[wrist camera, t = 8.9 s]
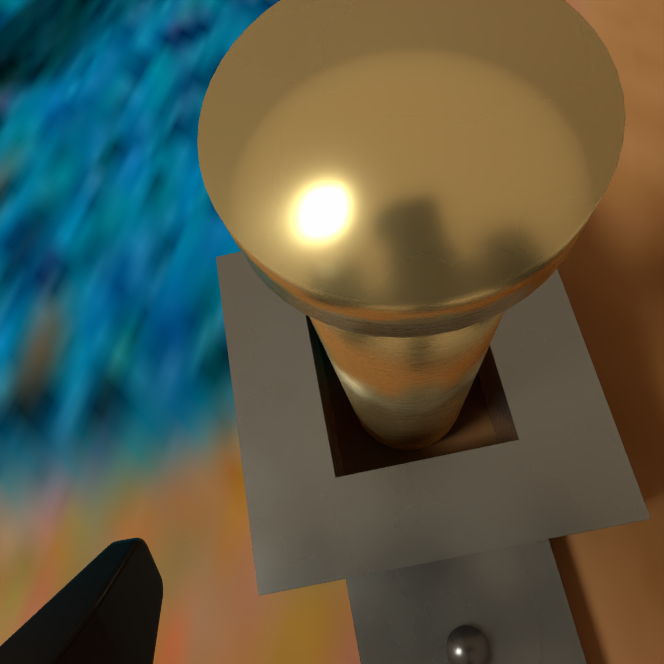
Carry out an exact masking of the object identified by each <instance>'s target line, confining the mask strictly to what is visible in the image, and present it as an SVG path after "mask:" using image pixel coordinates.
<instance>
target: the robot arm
mask: <svg viewBox="0 0 664 664" xmlns="http://www.w3.org/2000/svg"><path fill="white" fill-rule="evenodd" d="M162 598H163V583H162V579H161V576H160V573H159V571H158V569H157V567H156V564H155V562H154V560H153V557H152V555H151V553H150V551H149V548H148V546H147V544H146V543H145V541H144V540H143V539H141V538H132V539H126V540H120V541H116V542H113V543H111V544H110V545H109V546H108V547H107V548H106V549H105V550H103V551H102V552H101V553H100V554H99V555H98V556H97V557H96V558H95V559H94V560H93V561H92V562H91V563H89V564H88V565H87V566H86V567H85V568H84V569H83V570H82V571H81V572H80V573H79V574H78V575H77V576H75V577H74V578H73V579H72V580H71V581H70V582H69V583H68V584H67V585H66V586H65V587H64V588H63V589H61V590H60V591H59V592H58V593H57V594H56V595H55V596H54V597H53V598H52V599H51V600H50V601H49V602H47V603H46V604H45V605H44V606H43V607H42V608H41V609H40V610H39V611H38V612H37V613H36V614H35V615H33V616H32V617H31V618H30V619H29V620H28V621H27V622H26V623H25V624H24V625H23V626H22V627H21V628H19V629H18V630H17V631H16V632H15V633H14V634H13V635H12V636H11V637H10V638H9V639H8V640H7V641H5V642H4V643H3V644H2V645H1V646H0V664H153V660H154V653H155V646H156V639H157V632H158V625H159V619H160V612H161V605H162Z"/></svg>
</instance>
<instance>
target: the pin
mask: <svg viewBox="0 0 664 664" xmlns="http://www.w3.org/2000/svg"><path fill="white" fill-rule="evenodd" d="M624 127H625V108H624V97H623V91H622V87H621V83H620V80H619V76H618V72H617V69H616V67H615V65H614V63H613V61H612V58H611V56H610V54H609V52H608V50H607V48H606V47H605V45H604V43H603V42H602V40H601V39H600V37H599V36H598V34H597V33H596V31H595V30H594V29H593V28H592V27H591V25H590V24H589V23H588V22H587V21H586V20H585V19H584V18H583V17H582V15H581V14H580V13H579V12H578V11H576V10H575V9H574V8H573V7H572V6H570V5H569V4H568V3H567V2H566V1H565V0H280V1H279V2H277V3H276V4H275V5H273V6H272V7H270V8H269V9H268V10H266V11H265V12H264V13H263V14H262V15H261V16H260V17H258V18H257V19H256V20H255V21H254V22H253V23H252V24H251V25H249V26H248V28H247V29H246V30H245V31H244V32H243V33H242V34H241V35H240V37H239V38H238V39H237V40H236V41H235V42H234V43H233V45H232V46H231V48H230V49H229V51H228V52H227V53H226V55H225V56H224V58H223V59H222V60H221V62H220V64H219V66H218V68H217V70H216V72H215V74H214V75H213V77H212V79H211V81H210V84H209V87H208V90H207V92H206V95H205V98H204V100H203V105H202V109H201V114H200V119H199V127H198V154H199V165H200V169H201V173H202V177H203V181H204V185H205V188H206V190H207V192H208V194H209V197H210V199H211V201H212V204H213V206H214V208H215V210H216V211H217V213H218V215H219V216H220V218H221V219H222V221H223V223H224V224H225V226H226V228H227V229H228V231H229V232H230V234H231V236H232V237H233V239H234V241H235V242H236V244H237V246H238V247H239V249H240V250H241V252H242V254H243V255H244V257H245V258H246V260H247V261H248V263H249V265H250V266H251V268H252V269H253V271H254V272H255V273H256V274H257V275H258V276H259V278H260V279H261V280H262V281H263V282H264V283H265V285H266V286H267V287H268V288H269V289H271V290H272V291H273V292H274V293H275V294H276V295H278V296H279V297H280V298H281V299H282V300H283V301H285V302H286V303H288V304H289V305H291V306H292V307H294V308H296V309H297V310H299V311H300V312H302V313H303V314H305V315H307V316H309V317H310V319H311V321H312V323H313V325H314V327H315V330H316V332H317V334H318V336H319V338H320V340H321V342H322V344H323V346H324V348H325V351H326V353H327V355H328V357H329V359H330V361H331V363H332V365H333V367H334V369H335V371H336V374H337V376H338V378H339V380H340V382H341V384H342V386H343V388H344V390H345V392H346V395H347V397H348V399H349V401H350V403H351V405H352V407H353V409H354V411H355V413H356V415H357V418H358V420H359V422H360V423H361V425H362V426H363V428H364V429H365V430H366V431H367V433H368V434H370V435H371V436H372V437H373V438H374V439H376V440H377V441H378V442H380V443H382V444H384V445H386V446H389V447H392V448H396V449H402V450H415V449H420V448H424V447H427V446H429V445H432V444H434V443H436V442H437V441H439V440H440V439H441V438H443V437H444V436H445V435H446V434H447V433H448V432H449V431H450V429H451V428H452V427H453V425H454V423H455V422H456V419H457V417H458V415H459V413H460V411H461V408H462V406H463V404H464V402H465V399H466V397H467V395H468V393H469V390H470V388H471V386H472V384H473V381H474V379H475V377H476V375H477V372H478V370H479V368H480V366H481V363H482V361H483V359H484V357H485V354H486V352H487V350H488V347H489V345H490V343H491V341H492V338H493V336H494V334H495V332H496V329H497V327H498V325H499V323H500V320H501V318H502V316H503V314H504V311H506V310H508V309H509V308H511V307H512V306H514V305H516V304H517V303H519V302H520V301H522V300H523V299H525V298H526V297H528V296H529V295H530V294H531V293H532V292H534V291H535V290H536V289H537V288H538V287H539V286H541V285H542V284H543V283H544V282H545V281H546V280H547V279H548V278H549V277H550V276H551V275H552V274H553V273H554V271H555V270H556V269H557V268H558V267H559V266H560V265H561V263H562V262H563V261H564V259H565V258H566V256H567V255H568V253H569V252H570V250H571V249H572V247H573V246H574V244H575V242H576V241H577V239H578V237H579V236H580V234H581V232H582V231H583V229H584V227H585V225H586V224H587V222H588V220H589V219H590V217H591V215H592V213H593V212H594V210H595V208H596V207H597V205H598V203H599V202H600V200H601V198H602V196H603V195H604V193H605V191H606V189H607V187H608V185H609V183H610V180H611V178H612V176H613V174H614V171H615V169H616V167H617V164H618V160H619V156H620V152H621V148H622V144H623V139H624Z"/></svg>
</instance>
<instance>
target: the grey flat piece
mask: <svg viewBox="0 0 664 664" xmlns="http://www.w3.org/2000/svg"><path fill="white" fill-rule="evenodd" d="M216 260H217V268H218V276H219V284H220V292H221V300H222V308H223V316H224V324H225V332H226V340H227V348H228V355H229V363H230V371H231V379H232V387H233V395H234V403H235V411H236V419H237V427H238V435H239V443H240V451H241V459H242V467H243V475H244V482H245V490H246V498H247V506H248V514H249V522H250V530H251V538H252V546H253V554H254V562H255V570H256V578H257V586H258V594H259V595H265V594H270V593H275V592H280V591H285V590H290V589H295V588H300V587H305V586H311V585H316V584H321V583H326V582H331V581H336V580H341V579H346V583H347V588H348V594H349V600H350V605H351V611H352V616H353V622H354V628H355V633H356V639H357V644H358V650H359V656H360V661H361V664H587V663H586V659H585V656H584V653H583V650H582V646H581V643H580V640H579V637H578V633H577V630H576V627H575V623H574V620H573V617H572V614H571V610H570V607H569V604H568V601H567V597H566V594H565V591H564V588H563V584H562V581H561V578H560V575H559V571H558V568H557V565H556V562H555V558H554V555H553V552H552V549H551V545H550V542H549V539H551V538H556V537H561V536H566V535H571V534H576V533H581V532H587V531H592V530H597V529H602V528H607V527H612V526H617V525H622V524H627V523H632V522H638V521H643V520H648V519H651V518H650V515H649V513H648V510H647V507H646V505H645V502H644V499H643V497H642V494H641V491H640V489H639V486H638V483H637V481H636V478H635V475H634V473H633V470H632V467H631V465H630V462H629V459H628V457H627V454H626V451H625V449H624V446H623V443H622V440H621V438H620V435H619V432H618V430H617V427H616V424H615V422H614V419H613V416H612V414H611V411H610V408H609V406H608V403H607V400H606V398H605V395H604V392H603V390H602V387H601V384H600V382H599V379H598V376H597V374H596V371H595V368H594V366H593V363H592V360H591V358H590V355H589V352H588V349H587V347H586V344H585V341H584V339H583V336H582V333H581V331H580V328H579V325H578V323H577V320H576V317H575V315H574V312H573V309H572V307H571V304H570V301H569V299H568V296H567V293H566V291H565V288H564V285H563V283H562V280H561V277H560V275H559V272H558V269H556V270H555V271H554V273H553V274H552V275H551V276H550V277H549V278H548V279H547V280H546V281H545V282H544V283H543V284H542V285H541V286H539V287H538V288H537V289H536V290H535V291H534V292H532V293H531V294H530V295H529V296H528V297H526V298H525V299H523V300H522V301H520V302H519V303H517V304H516V305H514V306H512V307H511V308H509V309H508V310H506V311H504V314H503V316H502V318H501V320H500V323H499V325H498V327H497V329H496V332H495V334H494V336H493V338H492V341H491V343H490V345H489V347H488V350H487V352H486V354H485V357H484V359H483V361H482V363H481V366H480V368H479V370H478V372H477V373H478V376H479V379H480V383H481V386H482V390H483V393H484V396H485V400H486V403H487V407H488V410H489V413H490V417H491V420H492V424H493V427H494V431H495V434H496V437H497V441H498V444H496V445H491V446H486V447H481V448H477V449H472V450H467V451H462V452H457V453H452V454H448V455H443V456H438V457H433V458H428V459H423V460H419V461H414V462H409V463H404V464H399V465H394V466H390V467H385V468H380V469H375V470H370V471H365V472H361V473H356V474H351V475H346V476H345V472H344V467H343V461H342V456H341V451H340V446H339V440H338V435H337V430H336V425H335V419H334V414H333V409H332V404H331V398H330V393H329V388H328V383H327V377H326V372H325V367H324V362H323V356H322V351H321V346H320V342H321V340H320V338H319V336H318V334H317V332H316V330H315V327H314V325H313V323H312V321H311V319H310V317H309V316H307V315H305V314H303V313H302V312H300V311H299V310H297V309H296V308H294V307H292V306H291V305H289V304H288V303H286V302H285V301H283V300H282V299H281V298H280V297H279V296H278V295H276V294H275V293H274V292H273V291H272V290H271V289H269V288H268V287H267V286H266V285H265V283H264V282H263V281H262V280H261V279H260V278H259V276H258V275H257V274H256V273H255V272H254V271H253V269H252V268H251V266H250V265H249V263H248V261H247V260H246V258H245V257H244V255H243V254H242V252H237V253H232V254H228V255H224V256H220V257H216Z"/></svg>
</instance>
